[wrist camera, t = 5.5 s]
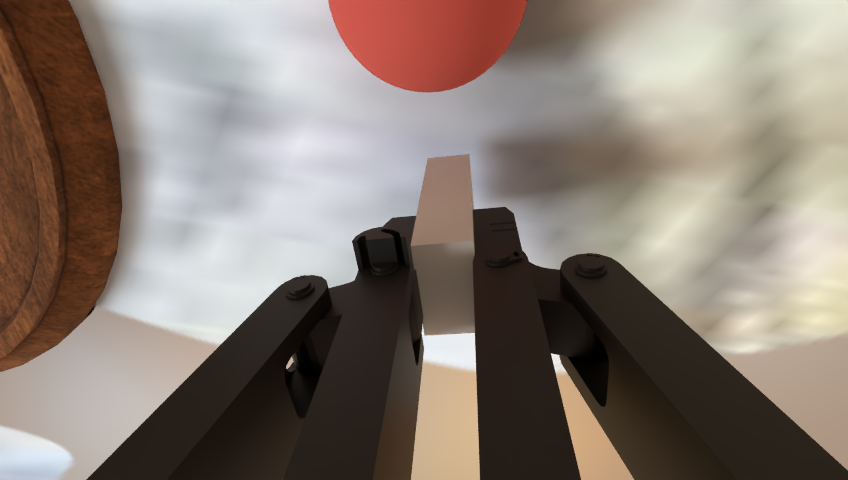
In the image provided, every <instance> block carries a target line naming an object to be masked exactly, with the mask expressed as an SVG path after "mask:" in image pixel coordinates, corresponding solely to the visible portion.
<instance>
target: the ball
mask: <svg viewBox="0 0 848 480" xmlns="http://www.w3.org/2000/svg"><path fill="white" fill-rule="evenodd" d="M328 1H329V6H330V10H331V13H332V17H333V20H334V23H335V25H336V27H337V30H338V32H339V34H340V36H341V38H342V39H343V41H344V43H345V45H346V46H347V48H348V49H349V50H350V52H351V53H352V54H353V56H354V57H355V58H356V59H357V60H358V61H359V62H360V63H361V64H362V65H363V66H364V67H365V68H366V69H367V70H368V71H370V72H371V73H372V74H373V75H375V76H377V77H378V78H380V79H381V80H383V81H385V82H387V83H389V84H391V85H393V86H396V87H399V88H402V89H405V90H410V91H415V92H440V91H445V90H450V89H453V88H456V87H459V86H462V85H464V84H466V83H468V82H470V81H472V80H474V79H476V78H477V77H478V76H480V75H481V74H483V73H484V72H486V71H487V70H488V69H489V68H490V67H491V66H492V65H493V64H494V63H495V62H496V61H497V60H498V59H499V58H500V57H501V56H502V54H503V53H504V52H505V50H506V49H507V47H508V46H509V45H510V43H511V42H512V40H513V38H514V36H515V34H516V32H517V30H518V28H519V26H520V23H521V20H522V18H523V15H524V11H525V7H526V3H527V0H328Z"/></svg>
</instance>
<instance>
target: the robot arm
mask: <svg viewBox="0 0 848 480" xmlns="http://www.w3.org/2000/svg"><path fill="white" fill-rule="evenodd" d="M352 243H353V247H354V252H355V256H356V261H357V265H358V269H359V270H358V273H357V276H356V279H355V281H352V282H350V283H347V284H344V285H340V286H336V287H332V288H328V285H327V281H326V280H325V279H324V278H322V277H320V276H315V275H309V276H306V275H304V276H300V277H295V278H293V279H291V280H289V281H287V282H285V283H283V284H282V285H281V286H279V287H278V288H277V289H276V290H275V291H274V292H273V293H272V294H271V295H270V296H269V297H268V298H267V299H266V300H265V301H264V302H263V303H262V304H261V305H260V306H259V307H258V308H257V309H256V310H255V311H254V312H253V313H252V314H251V315H250V316H249V317H248V318H247V319H246V320H245V321H244V322H243V323H242V324H241V325H240V326H239V327H238V328H237V329H236V330H235V331H234V332H233V333H232V334H231V335H230V336H229V337H228V338H227V339H226V340H225V341H224V342H223V343H222V344H221V345H220V346H219V347H218V348H217V349H216V350H215V351H214V352H213V353H212V354H211V355H210V356H209V357H208V358H207V359H206V360H205V361H204V362H203V363H202V364H201V365H200V366H199V367H198V368H197V369H196V370H195V371H194V372H193V373H192V374H191V375H190V376H189V377H188V378H187V379H186V380H185V381H184V382H183V383H182V384H181V385H180V386H179V387H178V388H177V389H176V390H175V391H174V392H173V393H172V394H171V395H170V396H169V397H168V398H167V399H166V400H165V401H164V402H163V403H162V404H161V405H160V406H159V407H158V408H157V409H156V410H155V411H154V412H153V414H151V416H149V418H147V419H146V420H145V421H144V422H143V423H142V424H141V426H139V427H138V429H137V430H135V432H134V433H132V435H130V437H129V438H127V439H126V440H125V441H124V442H123V443H122V444H121V446H119V448H117V450H115V452H114V453H113V454H112V455H111V456H110V457H109V458H108V459H107V460H106V461H105V462H104V463H103V464H102V465H101V466H100V467H99V468H98V469H97V470H96V471H95V472H94V473H93V474H92V475H91V476H90V477H89V478H88V479H87V480H411V472H412V462H413V452H414V442H415V431H416V422H417V411H418V402H419V392H420V382H421V372H422V362H423V352H424V346H423V340H422V334H421V332H422V324H423V327H424V334H425V335H441V334H460V333H475V346H476V375H477V403H478V431H479V460H480V480H581V478H580V473H579V469H578V465H577V461H576V457H575V453H574V448H573V444H572V440H571V436H570V432H569V427H568V423H567V419H566V415H565V411H564V407H563V403H562V398H561V394H560V390H559V386H558V382H557V378H556V373H555V369H554V365H553V361H552V357H551V353H552V354H557V355H560V360H561V363H562V365H563V367H564V368H565V370H566V371H567V373H568V375H569V376H570V378H571V379H572V381H573V383H574V384H575V386H576V387H577V389H578V390H579V392H580V394H581V395H582V397H583V398H584V400H585V402H586V403H587V405H588V406H589V408H590V410H591V411H592V413H593V414H594V416H595V417H596V419H597V420H598V422H599V424H600V425H601V427H602V429H603V430H604V432H605V433H606V435H607V437H608V438H609V440H610V441H611V443H612V445H613V446H614V447H615V449H616V451H617V452H618V454H619V455H620V457H621V459H622V460H623V462H624V463H625V465H626V467H627V468H628V470H629V471H630V473H631V475H632V476H633V478H634V479H635V480H848V471H847V470H846V469H845V468H844V467H843V466H842V465H841V464H840V463H839V462H838V461H837V460H835V459H834V458H833V457H832V456H831V455H830V454H829V453H828V452H827V451H826V450H824V449H823V448H822V447H821V446H820V445H819V444H818V443H817V442H816V441H815V440H813V439H812V438H811V437H810V436H809V435H808V434H807V433H806V432H805V431H804V430H802V429H801V428H800V427H799V426H798V425H797V424H796V423H795V422H794V421H793V420H791V419H790V418H789V417H788V416H787V415H786V414H785V413H784V412H783V411H782V410H780V409H779V408H778V407H777V406H776V405H775V404H774V403H773V402H772V401H771V400H769V399H768V398H767V397H766V396H765V395H764V394H763V393H762V392H761V391H760V390H758V389H757V388H756V387H755V386H754V385H753V384H752V383H751V382H750V381H748V380H747V379H746V378H745V377H744V376H743V375H742V374H741V373H740V372H739V371H737V370H736V369H735V368H734V367H733V366H732V365H731V364H730V363H729V362H728V361H727V360H725V359H724V358H723V357H722V356H721V355H720V354H719V353H718V352H717V351H716V350H714V349H713V348H712V347H711V346H710V345H709V344H708V343H707V342H706V341H705V340H703V339H702V338H701V337H700V336H699V335H698V334H697V333H696V332H695V331H694V330H692V329H691V328H690V327H689V326H688V325H687V324H686V323H685V322H684V321H683V320H681V319H680V318H679V317H678V316H677V315H676V314H675V313H674V312H673V311H672V310H670V309H669V308H668V307H667V306H666V305H665V304H664V303H663V302H662V301H660V300H659V299H658V298H657V297H656V296H655V295H654V294H653V293H652V292H651V291H649V290H648V289H647V288H646V287H645V286H644V285H643V284H642V283H641V282H640V281H638V280H637V279H636V278H635V277H634V276H633V275H632V274H631V273H630V272H629V271H627V270H626V269H625V268H624V267H623V266H622V265H621V264H620V263H619V262H617V261H615V260H614V259H612V258H610V257H607V256H603V255H600V254H593V253H586V254H579V255H575V256H572V257H569V258H567V259H566V260H565V261H563V262H562V265H561V268H560V270H556V269H548V268H543V267H539V266H536V265H534V264H532V263H530V262H529V261H528V257H527V256H526V254H525V253H524V252H523V251H522V247H521V243H520V239H519V234H518V230H517V226H516V222H515V217H514V213H512V212H511V211H510V210H508V209H507V208H506V207H499V208H487V209H476V210H474V204H473V193H472V181H471V169H470V157H469V154H466V155H456V156H446V157H436V158H428V160H427V165H426V170H425V175H424V180H423V185H422V190H421V195H420V200H419V205H418V210H417V215H416V216H408V217H397V218H392V219H391V220H389V221H388V222H387V223H386V224H385V225H384V226H383V227H378V228H373V229H370V230H367V231H364V232H362V233H361V234H359V235H357V236H356V237H355V238H354V239H353V241H352ZM291 357H292V358H293V361H294V362H293V363H292V365H291V366H290V367H289V368H288V369H286V365H287V363H288V361H289V360H290V358H291Z"/></svg>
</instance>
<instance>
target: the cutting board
mask: <svg viewBox="0 0 848 480" xmlns="http://www.w3.org/2000/svg"><path fill="white" fill-rule="evenodd" d="M121 211H122V200H121V185H120V170H119V155H118V150H117V145H116V141H115V136H114V132H113V128H112V123H111V119H110V114H109V110H108V106H107V101H106V97H105V92H104V89H103V87H102V84H101V81H100V79H99V76H98V73H97V70H96V68H95V65H94V62H93V60H92V57H91V54H90V52H89V49H88V46H87V44H86V41H85V38H84V36H83V33H82V30H81V27H80V25H79V22H78V19H77V18H76V16H75V14H74V12H73V10H72V8H71V6H70V4H69V2H68V0H0V372H2V371H5V370H8V369H11V368H14V367H17V366H20V365H23V364H25V363H27V362H28V361H30V360H32V359H34V358H35V357H37V356H39V355H41V354H42V353H44V352H46V351H48V350H49V349H51V348H53V347H54V346H56V345H58V344H59V343H60V342H61V341H62V340H63V339H64V338H66V337H67V336H68V335H69V334H70V333H71V332H72V331H73V330H74V329H75V328H76V327H77V326H78V325H79V324H80V323H82V322H83V320H85V319H86V318H87V317H88V316H89V315H90V314H91V313H92V312H93V310H94V309H95V307H96V305H94V304H95V302H96V301H97V299H98V298H99V296H100V295H101V293H102V292H103V290H104V288H105V285H106V282H107V279H108V276H109V273H110V270H111V267H112V264H113V261H114V259H115V256H116V253H117V245H118V237H119V228H120V220H121Z"/></svg>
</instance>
